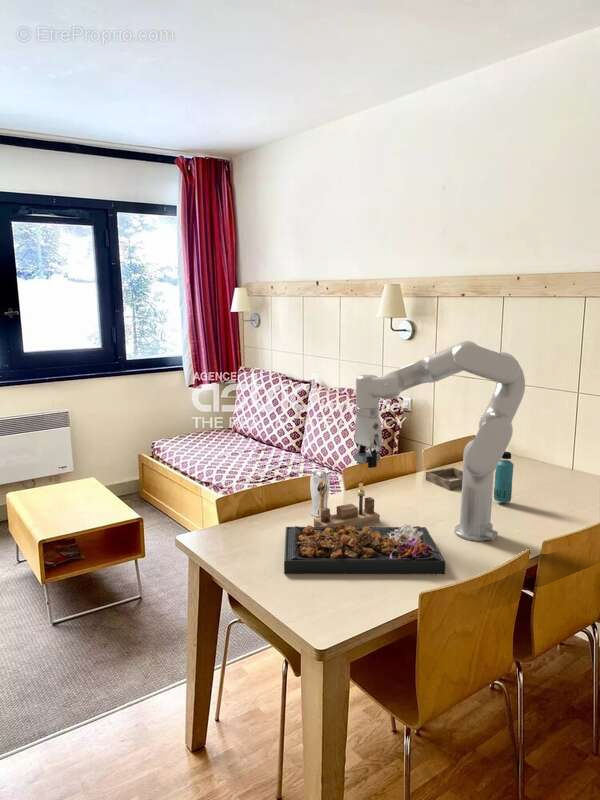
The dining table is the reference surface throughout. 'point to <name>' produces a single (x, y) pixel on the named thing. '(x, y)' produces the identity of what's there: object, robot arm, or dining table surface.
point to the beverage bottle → (503, 479)
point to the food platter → (361, 550)
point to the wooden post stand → (349, 515)
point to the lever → (361, 490)
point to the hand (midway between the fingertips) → (367, 464)
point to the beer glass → (319, 491)
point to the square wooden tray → (439, 476)
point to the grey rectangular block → (363, 457)
